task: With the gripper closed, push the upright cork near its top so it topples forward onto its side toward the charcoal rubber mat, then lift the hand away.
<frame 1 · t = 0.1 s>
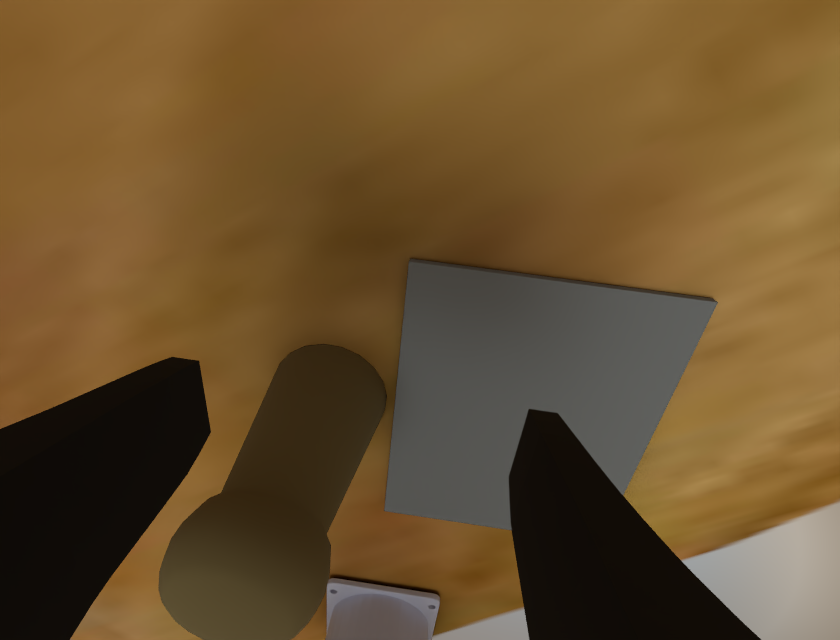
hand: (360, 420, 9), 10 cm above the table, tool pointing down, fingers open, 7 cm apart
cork: (331, 391, 22), on the table
topple mat: (519, 420, 21), on the table
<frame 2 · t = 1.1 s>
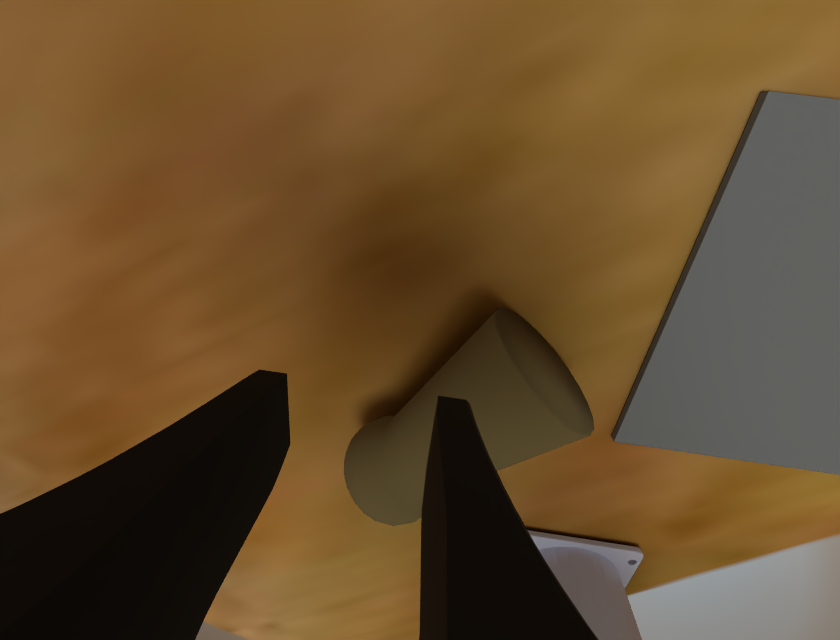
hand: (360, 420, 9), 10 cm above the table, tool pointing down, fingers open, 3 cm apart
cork: (548, 364, 17), point 3 cm above the table
topple mat: (821, 319, 18), on the table
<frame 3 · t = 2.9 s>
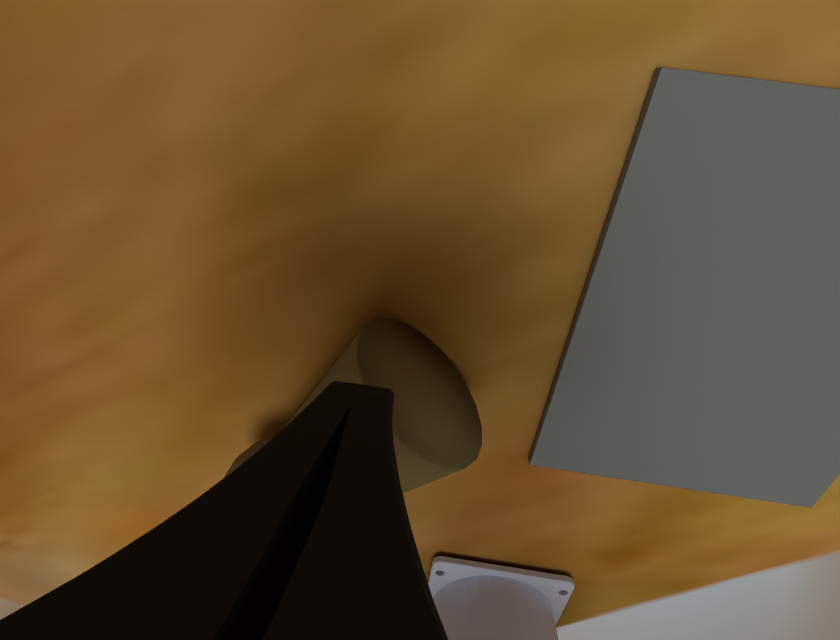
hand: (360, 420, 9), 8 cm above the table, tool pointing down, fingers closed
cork: (428, 383, 14), point 3 cm above the table
topple mat: (747, 333, 16), on the table
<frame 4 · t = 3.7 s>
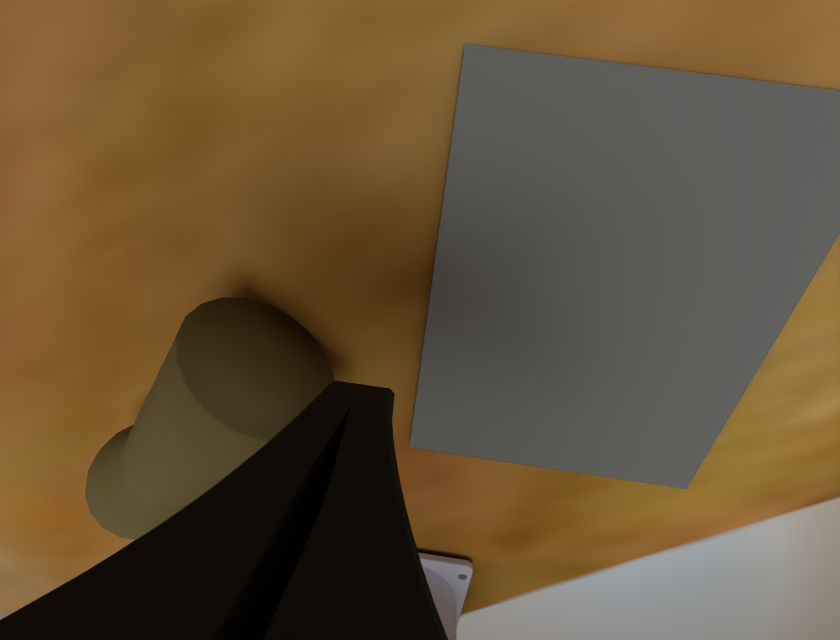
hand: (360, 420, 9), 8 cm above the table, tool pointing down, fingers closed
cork: (269, 360, 15), point 3 cm above the table
topple mat: (597, 312, 16), on the table
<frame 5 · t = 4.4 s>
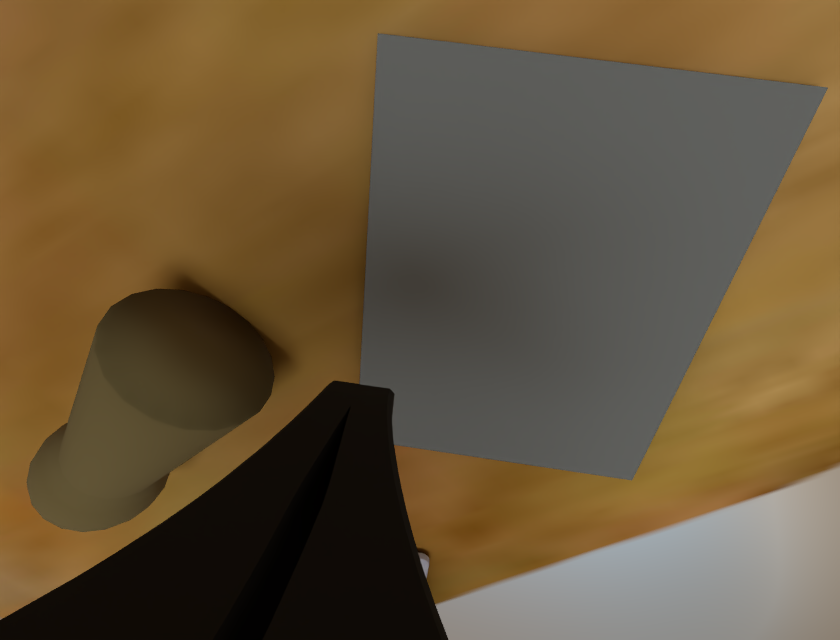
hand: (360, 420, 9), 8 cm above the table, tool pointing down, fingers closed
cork: (199, 351, 15), point 3 cm above the table
topple mat: (532, 302, 16), on the table
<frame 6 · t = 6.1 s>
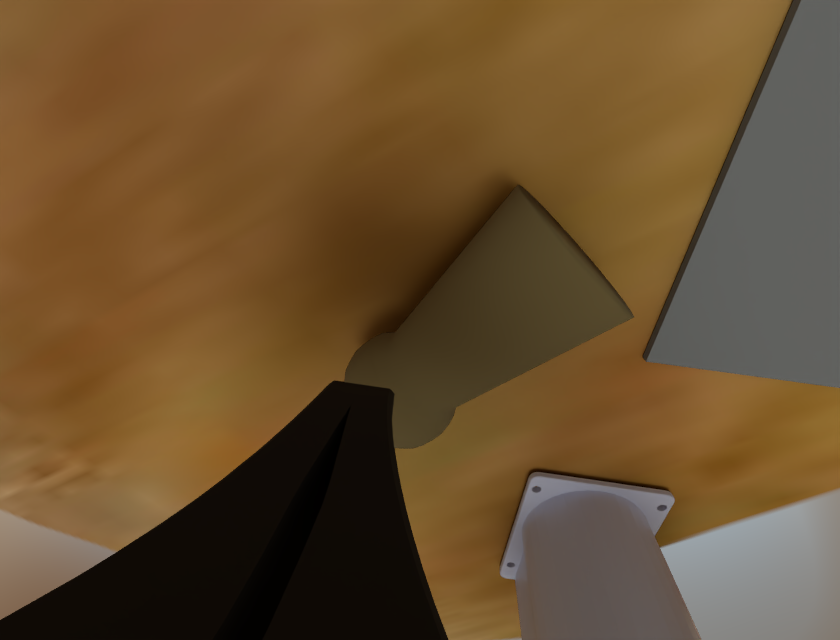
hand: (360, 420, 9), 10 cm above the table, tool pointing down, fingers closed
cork: (580, 245, 14), point 3 cm above the table
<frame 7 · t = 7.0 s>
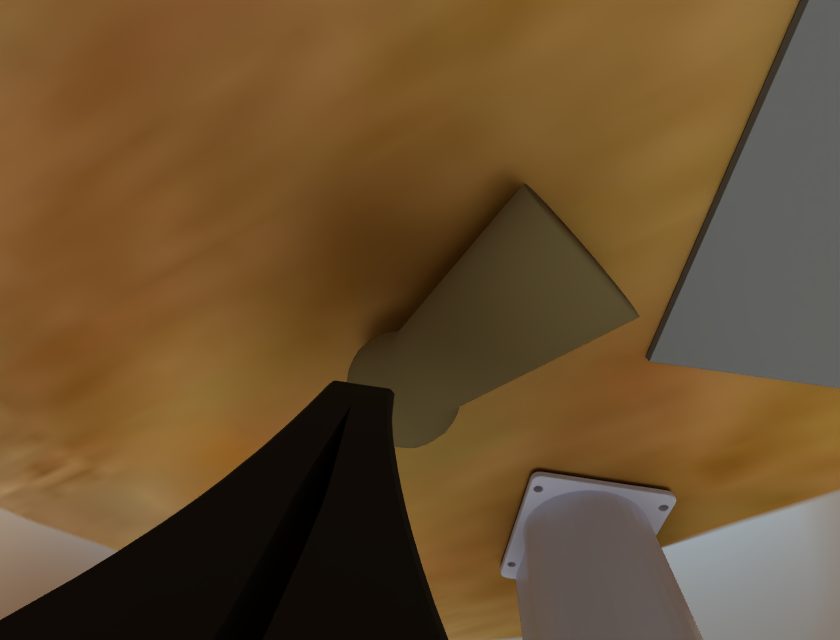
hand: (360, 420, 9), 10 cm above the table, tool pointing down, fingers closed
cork: (585, 244, 14), point 3 cm above the table
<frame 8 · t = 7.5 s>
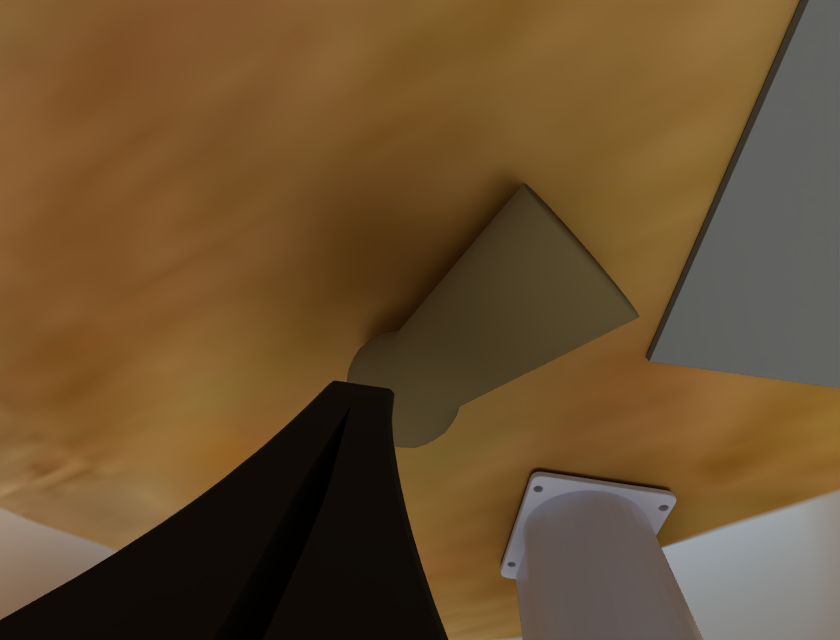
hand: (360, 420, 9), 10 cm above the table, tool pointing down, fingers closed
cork: (585, 244, 14), point 3 cm above the table
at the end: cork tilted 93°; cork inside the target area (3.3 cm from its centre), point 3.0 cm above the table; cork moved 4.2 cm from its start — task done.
